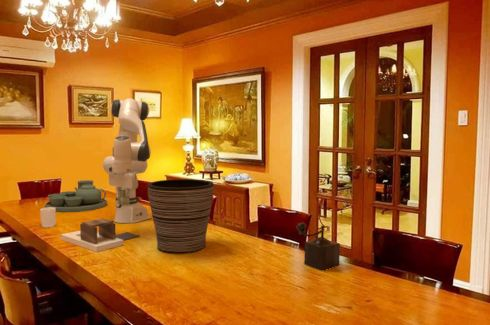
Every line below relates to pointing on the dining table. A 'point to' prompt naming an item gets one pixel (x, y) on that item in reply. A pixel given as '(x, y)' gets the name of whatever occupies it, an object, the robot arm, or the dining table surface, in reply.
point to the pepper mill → (320, 250)
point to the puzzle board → (102, 243)
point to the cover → (90, 230)
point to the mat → (126, 236)
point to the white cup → (48, 216)
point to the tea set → (78, 198)
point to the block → (122, 198)
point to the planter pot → (181, 213)
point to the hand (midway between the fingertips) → (123, 196)
